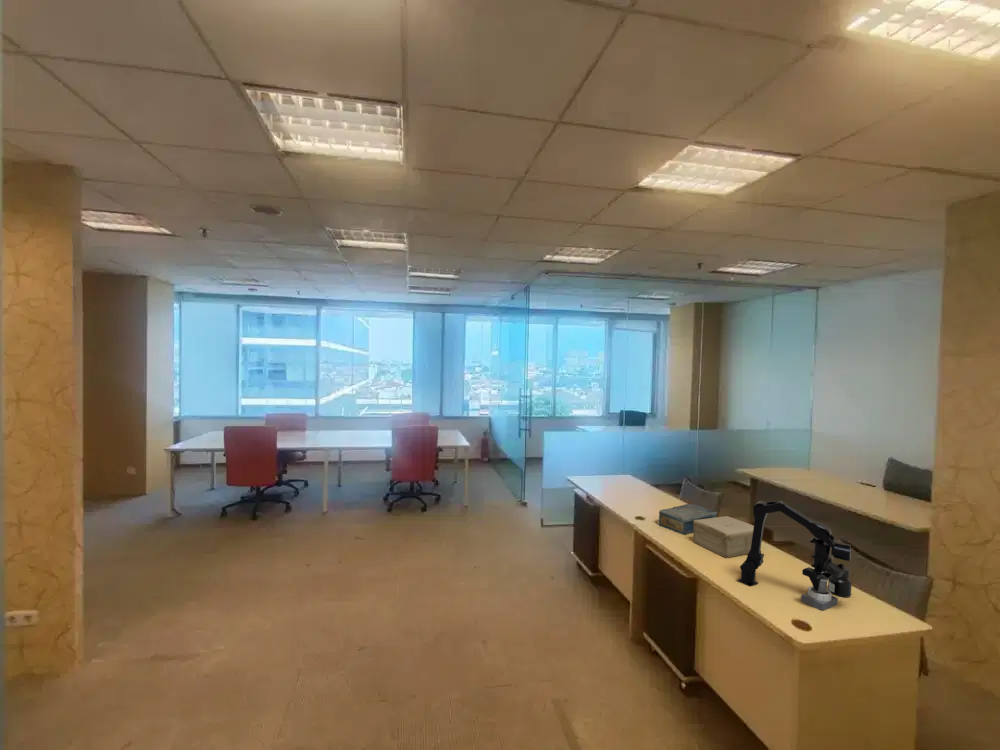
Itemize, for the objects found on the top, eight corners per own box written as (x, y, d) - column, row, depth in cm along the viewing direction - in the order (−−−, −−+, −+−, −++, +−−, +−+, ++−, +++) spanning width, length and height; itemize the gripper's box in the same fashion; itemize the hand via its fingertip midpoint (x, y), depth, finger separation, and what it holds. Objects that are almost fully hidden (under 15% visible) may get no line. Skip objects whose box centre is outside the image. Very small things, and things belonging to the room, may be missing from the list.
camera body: (822, 611, 211) (823, 598, 211) (800, 601, 219) (801, 589, 219) (837, 604, 217) (838, 592, 217) (815, 595, 225) (816, 583, 225)
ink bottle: (829, 586, 235) (830, 561, 234) (851, 592, 229) (853, 567, 229) (826, 593, 227) (828, 568, 227) (849, 600, 222) (851, 573, 221)
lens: (822, 595, 214) (823, 579, 214) (810, 590, 219) (811, 574, 218) (829, 593, 217) (830, 577, 216) (816, 588, 221) (817, 572, 221)
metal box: (718, 527, 314) (718, 512, 313) (684, 536, 297) (685, 519, 296) (689, 517, 332) (690, 503, 331) (656, 525, 315) (657, 509, 314)
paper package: (724, 536, 297) (726, 513, 297) (762, 553, 274) (763, 528, 273) (690, 542, 287) (691, 518, 286) (726, 559, 263) (727, 533, 263)
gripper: (830, 565, 205) (827, 602, 206) (853, 557, 215) (850, 592, 215) (802, 555, 215) (800, 590, 216) (825, 548, 224) (823, 582, 225)
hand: (819, 589), depth 218 cm, fingers closed on lens, 5 cm apart
